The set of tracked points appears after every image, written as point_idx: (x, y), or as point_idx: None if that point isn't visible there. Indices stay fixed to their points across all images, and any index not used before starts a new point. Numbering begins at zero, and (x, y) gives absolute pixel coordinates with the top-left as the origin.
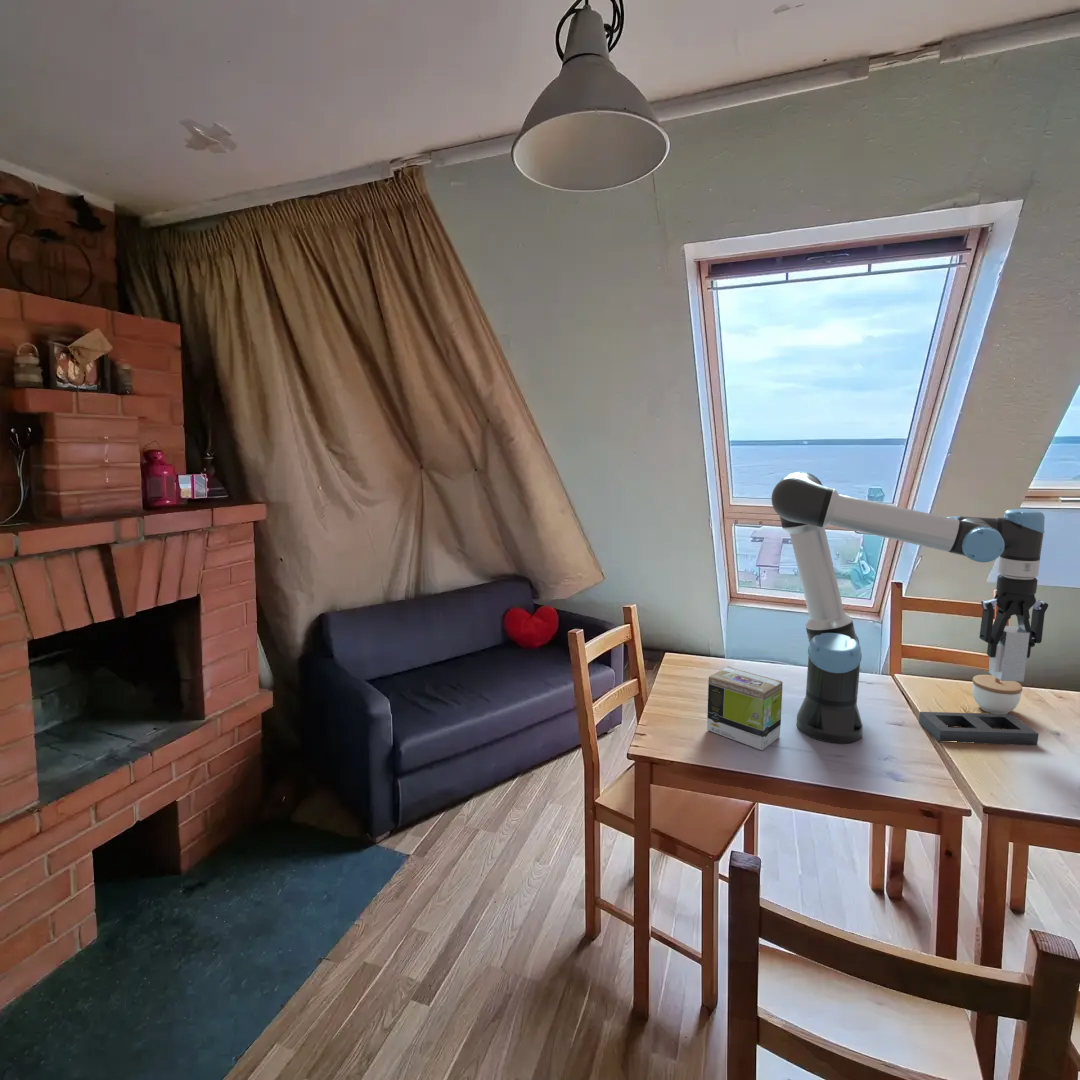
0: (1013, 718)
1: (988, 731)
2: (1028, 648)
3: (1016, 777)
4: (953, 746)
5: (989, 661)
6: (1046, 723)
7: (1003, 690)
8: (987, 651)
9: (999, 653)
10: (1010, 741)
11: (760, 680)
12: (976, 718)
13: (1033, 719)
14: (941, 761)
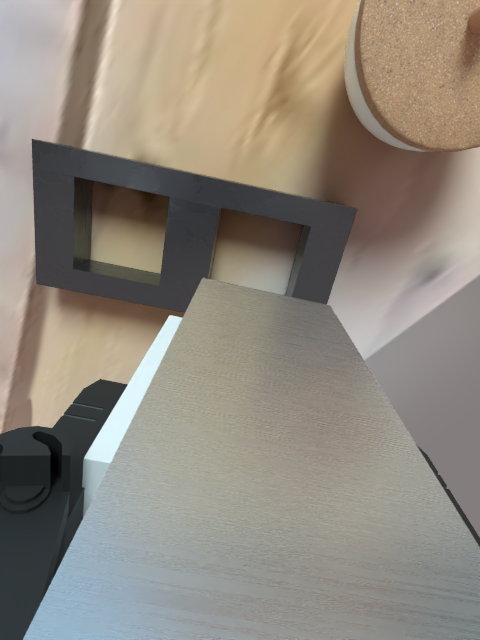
0: (333, 239)
1: (179, 308)
2: None
3: None
4: (83, 299)
5: (158, 335)
6: (475, 208)
7: (405, 137)
8: (74, 405)
9: None
10: None
11: None
12: (205, 223)
13: (465, 174)
14: (14, 357)
